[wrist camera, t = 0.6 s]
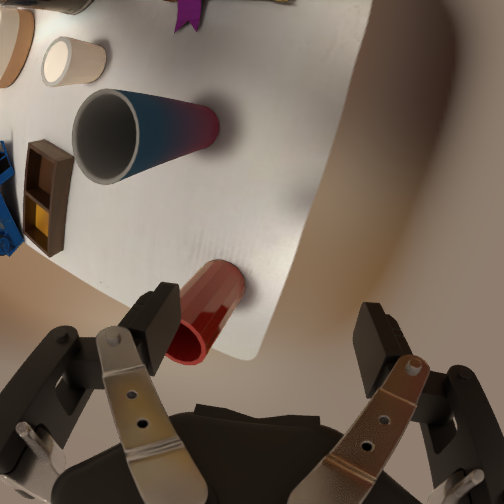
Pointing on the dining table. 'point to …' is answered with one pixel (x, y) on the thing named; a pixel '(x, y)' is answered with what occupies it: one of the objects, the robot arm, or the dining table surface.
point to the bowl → (14, 42)
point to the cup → (136, 133)
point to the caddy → (46, 195)
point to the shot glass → (72, 62)
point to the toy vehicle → (7, 212)
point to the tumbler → (205, 310)
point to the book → (189, 12)
